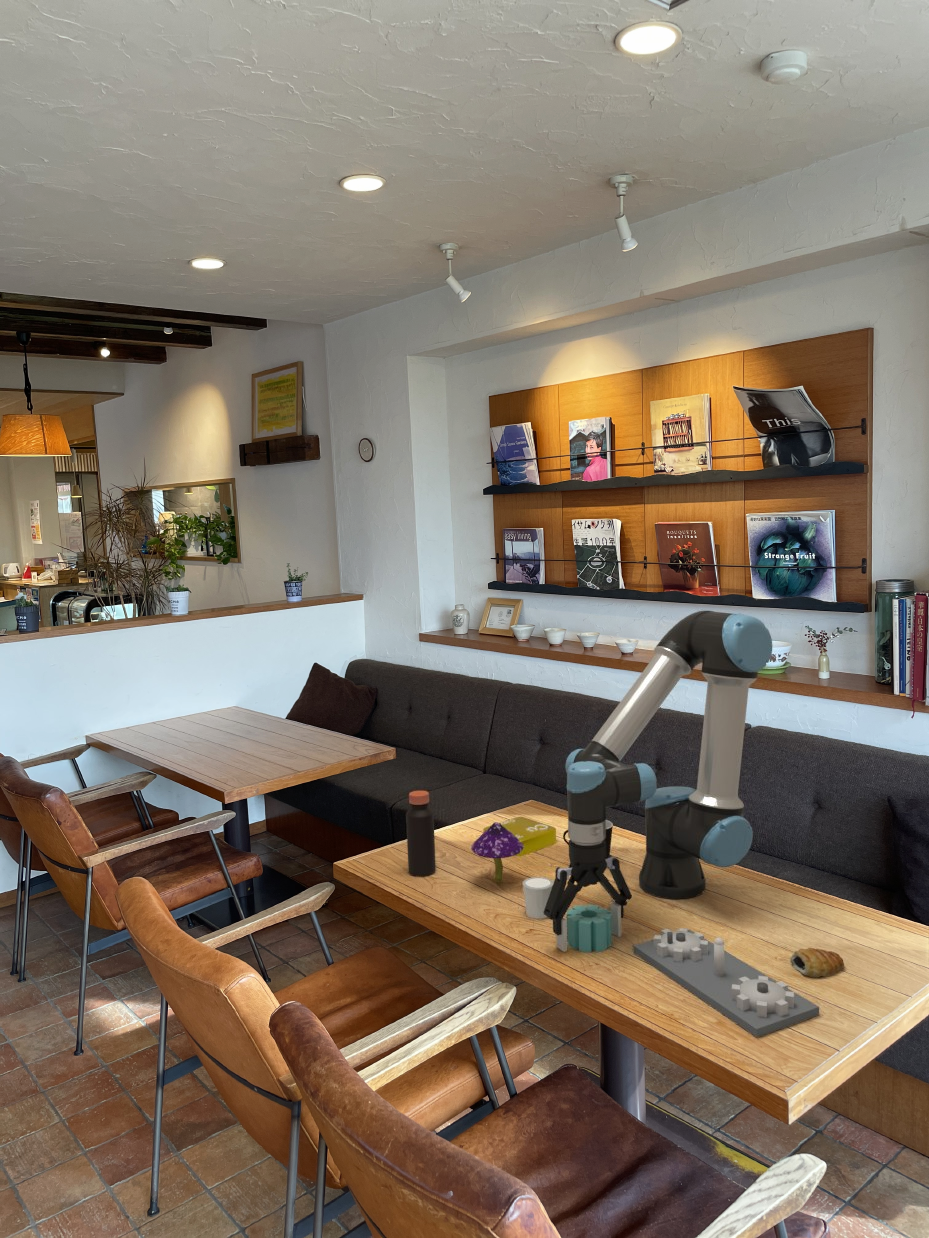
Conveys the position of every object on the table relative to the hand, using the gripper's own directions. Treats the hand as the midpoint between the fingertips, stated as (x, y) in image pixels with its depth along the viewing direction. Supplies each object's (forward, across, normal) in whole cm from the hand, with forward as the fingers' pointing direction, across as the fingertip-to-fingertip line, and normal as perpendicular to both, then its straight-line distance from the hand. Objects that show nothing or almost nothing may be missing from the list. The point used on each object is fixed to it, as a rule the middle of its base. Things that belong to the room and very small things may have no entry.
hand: (589, 941), depth 185 cm
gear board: (0, +12, -25) cm, 28 cm away
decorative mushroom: (0, -2, +36) cm, 36 cm away
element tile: (+1, +16, +57) cm, 60 cm away
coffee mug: (0, +24, +36) cm, 43 cm away
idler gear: (0, 0, 0) cm, 0 cm away
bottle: (0, -15, +52) cm, 54 cm away
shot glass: (0, -2, +17) cm, 17 cm away
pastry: (0, +31, -30) cm, 43 cm away
